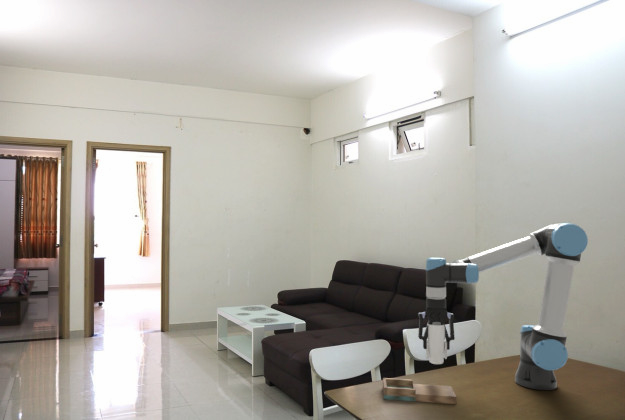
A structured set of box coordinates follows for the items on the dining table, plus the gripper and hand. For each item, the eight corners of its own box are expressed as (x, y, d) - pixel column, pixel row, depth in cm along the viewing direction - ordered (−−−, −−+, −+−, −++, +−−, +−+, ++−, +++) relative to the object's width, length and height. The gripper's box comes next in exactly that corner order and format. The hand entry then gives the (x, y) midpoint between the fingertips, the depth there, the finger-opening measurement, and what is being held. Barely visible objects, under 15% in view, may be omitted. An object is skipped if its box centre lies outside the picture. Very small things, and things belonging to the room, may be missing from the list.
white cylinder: (446, 361, 191) (445, 322, 191) (444, 365, 185) (444, 326, 185) (428, 359, 193) (428, 321, 194) (426, 364, 187) (426, 324, 187)
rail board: (450, 392, 181) (450, 382, 181) (456, 403, 170) (456, 392, 170) (382, 388, 184) (382, 377, 184) (383, 399, 173) (384, 387, 173)
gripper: (459, 296, 192) (459, 355, 192) (410, 295, 194) (410, 354, 194) (463, 299, 185) (463, 361, 184) (412, 298, 187) (412, 359, 186)
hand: (436, 357), depth 189 cm, fingers closed on white cylinder, 6 cm apart
